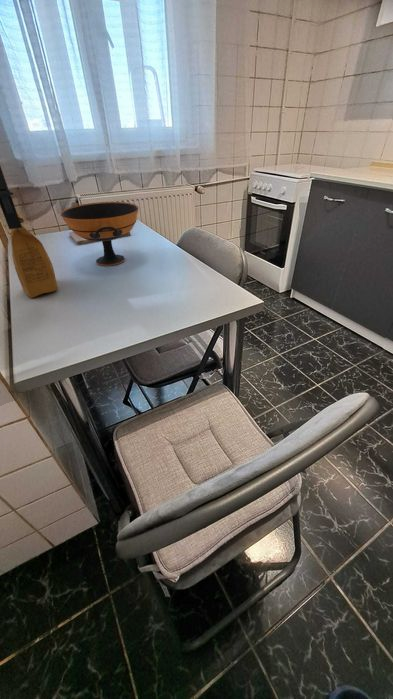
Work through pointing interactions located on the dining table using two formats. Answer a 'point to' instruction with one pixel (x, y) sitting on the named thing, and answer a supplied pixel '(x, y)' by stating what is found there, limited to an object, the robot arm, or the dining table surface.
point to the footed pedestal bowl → (102, 225)
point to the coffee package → (32, 262)
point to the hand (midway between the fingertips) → (15, 227)
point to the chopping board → (81, 240)
